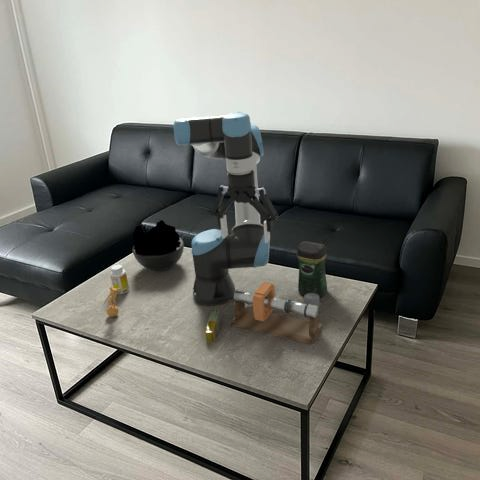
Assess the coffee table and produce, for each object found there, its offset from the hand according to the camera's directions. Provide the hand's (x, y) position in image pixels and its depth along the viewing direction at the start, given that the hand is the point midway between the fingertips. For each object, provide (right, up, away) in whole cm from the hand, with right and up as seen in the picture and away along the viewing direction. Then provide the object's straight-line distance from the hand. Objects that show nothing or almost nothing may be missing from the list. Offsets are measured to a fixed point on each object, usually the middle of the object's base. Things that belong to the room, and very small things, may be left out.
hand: (246, 238), depth 143 cm
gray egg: (+22, -24, +12) cm, 34 cm away
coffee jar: (+23, -19, +24) cm, 38 cm away
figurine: (-44, -27, +19) cm, 55 cm away
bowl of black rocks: (-33, -12, +48) cm, 60 cm away
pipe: (+9, -22, +4) cm, 24 cm away
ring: (+6, -24, +7) cm, 25 cm away
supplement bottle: (-46, -19, +34) cm, 60 cm away
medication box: (-10, -29, +8) cm, 32 cm away
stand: (+10, -27, +7) cm, 30 cm away
